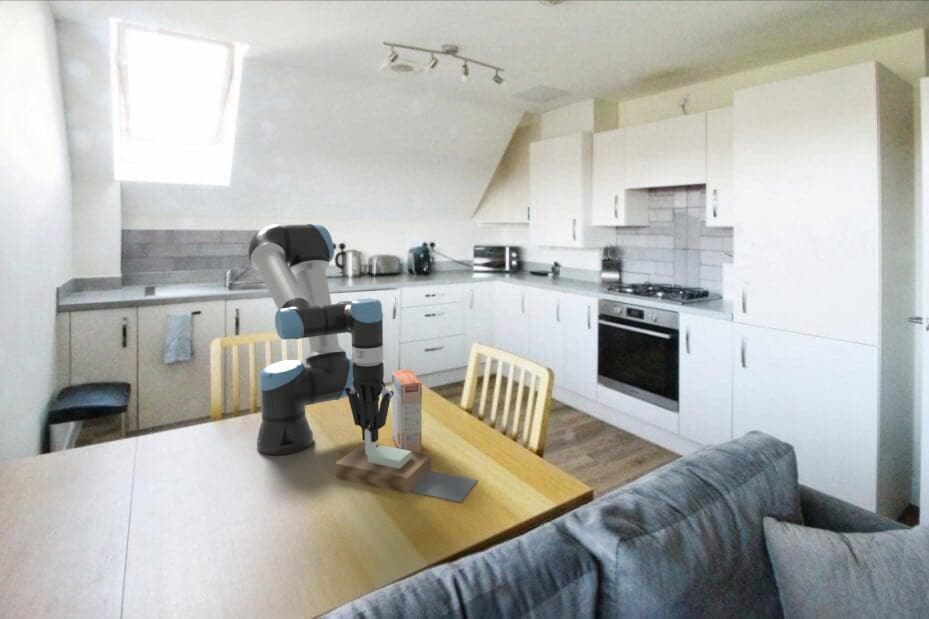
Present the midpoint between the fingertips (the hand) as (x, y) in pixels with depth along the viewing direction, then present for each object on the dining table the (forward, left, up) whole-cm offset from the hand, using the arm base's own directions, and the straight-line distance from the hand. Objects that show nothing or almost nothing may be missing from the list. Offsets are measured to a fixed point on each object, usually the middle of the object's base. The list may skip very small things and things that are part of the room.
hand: (370, 452), depth 135 cm
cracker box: (+2, +16, -6) cm, 17 cm away
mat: (+20, 0, -5) cm, 21 cm away
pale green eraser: (+5, 0, -1) cm, 5 cm away
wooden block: (+4, 0, -5) cm, 6 cm away
